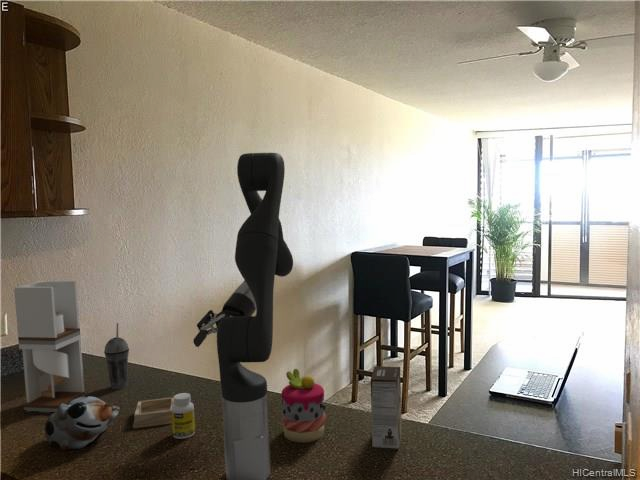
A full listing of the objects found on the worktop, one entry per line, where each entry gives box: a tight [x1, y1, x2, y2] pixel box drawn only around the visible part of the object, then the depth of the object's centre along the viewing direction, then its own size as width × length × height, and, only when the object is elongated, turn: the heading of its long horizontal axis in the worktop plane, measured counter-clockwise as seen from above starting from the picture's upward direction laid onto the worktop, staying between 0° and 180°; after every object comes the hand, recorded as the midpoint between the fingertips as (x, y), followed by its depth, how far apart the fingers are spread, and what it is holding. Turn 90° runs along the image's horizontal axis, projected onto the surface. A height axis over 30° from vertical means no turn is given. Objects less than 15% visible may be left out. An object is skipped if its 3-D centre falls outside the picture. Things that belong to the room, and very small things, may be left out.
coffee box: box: [370, 366, 403, 450], centre depth 119 cm, size 9×6×16 cm
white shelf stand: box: [13, 280, 86, 413], centre depth 146 cm, size 11×11×35 cm
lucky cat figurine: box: [44, 395, 120, 451], centre depth 123 cm, size 15×12×14 cm
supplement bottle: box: [171, 392, 196, 440], centre depth 125 cm, size 5×5×10 cm
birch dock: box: [132, 396, 175, 429], centre depth 136 cm, size 11×10×3 cm
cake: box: [281, 368, 327, 443], centre depth 124 cm, size 10×11×15 cm
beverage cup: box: [103, 322, 130, 390], centre depth 159 cm, size 7×7×20 cm
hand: (208, 348), depth 125 cm, fingers open, 8 cm apart
